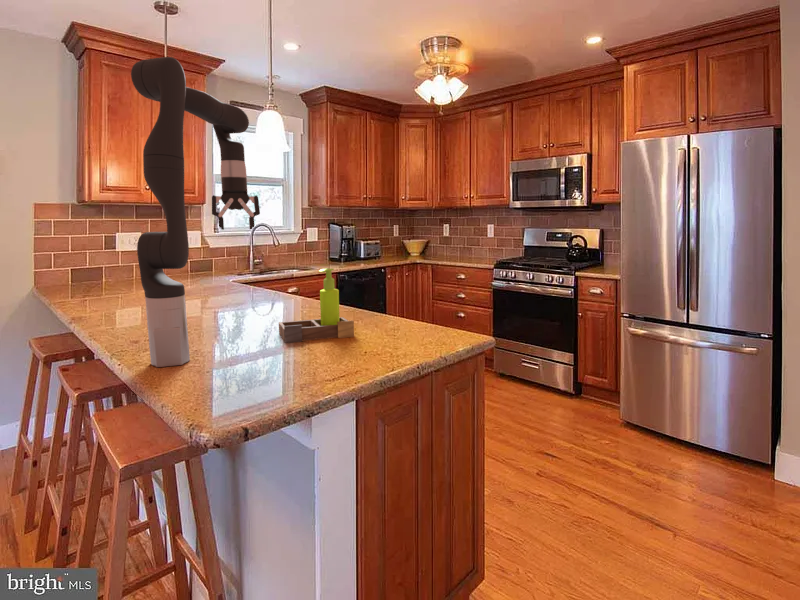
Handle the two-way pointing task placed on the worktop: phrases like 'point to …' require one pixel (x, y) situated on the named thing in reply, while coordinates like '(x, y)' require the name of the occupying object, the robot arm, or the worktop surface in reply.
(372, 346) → the worktop surface
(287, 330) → the dock
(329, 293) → the soap dispenser
